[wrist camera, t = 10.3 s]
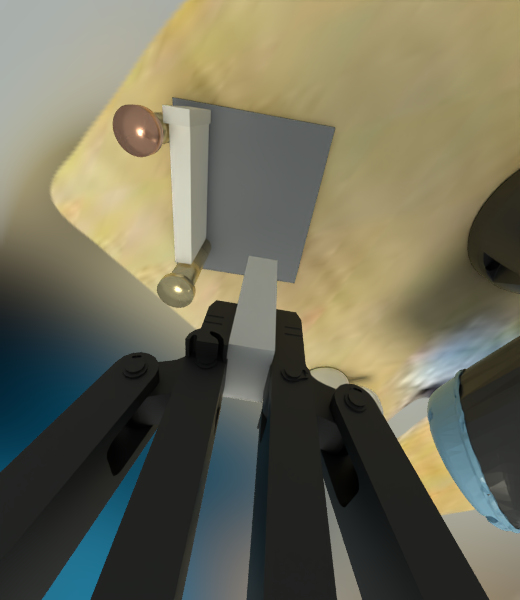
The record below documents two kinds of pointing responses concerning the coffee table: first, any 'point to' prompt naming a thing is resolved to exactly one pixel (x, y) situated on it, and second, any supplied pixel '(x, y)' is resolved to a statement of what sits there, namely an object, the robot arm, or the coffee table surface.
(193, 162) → the beige piece
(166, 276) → the hinge post
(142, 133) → the brass capped rod
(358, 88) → the coffee table surface
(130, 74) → the coffee table surface
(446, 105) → the coffee table surface
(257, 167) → the mat
